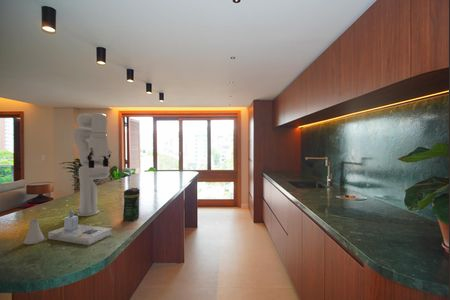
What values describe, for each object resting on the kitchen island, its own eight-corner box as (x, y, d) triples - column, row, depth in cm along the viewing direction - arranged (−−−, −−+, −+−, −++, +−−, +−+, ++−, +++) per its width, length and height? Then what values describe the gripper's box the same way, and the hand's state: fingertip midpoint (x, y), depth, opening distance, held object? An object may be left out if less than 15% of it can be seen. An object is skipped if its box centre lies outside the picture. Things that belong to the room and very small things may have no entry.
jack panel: (48, 238, 108) (48, 230, 108) (73, 229, 120) (73, 222, 120) (88, 245, 101) (89, 237, 101) (111, 234, 113) (111, 227, 113)
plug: (64, 236, 111) (64, 211, 111) (71, 233, 115) (71, 209, 114) (71, 237, 110) (71, 212, 109) (78, 234, 113) (79, 210, 113)
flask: (31, 238, 107) (31, 217, 107) (48, 238, 108) (48, 217, 108) (19, 245, 100) (19, 222, 100) (36, 244, 101) (37, 222, 101)
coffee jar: (134, 221, 134) (134, 189, 134) (121, 221, 134) (121, 189, 134) (141, 216, 144) (141, 187, 143) (129, 216, 144) (129, 186, 144)
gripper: (105, 136, 135) (105, 165, 135) (79, 135, 118) (79, 168, 119) (116, 136, 133) (115, 166, 133) (91, 135, 116) (91, 168, 116)
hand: (98, 167), depth 126 cm, fingers open, 9 cm apart
